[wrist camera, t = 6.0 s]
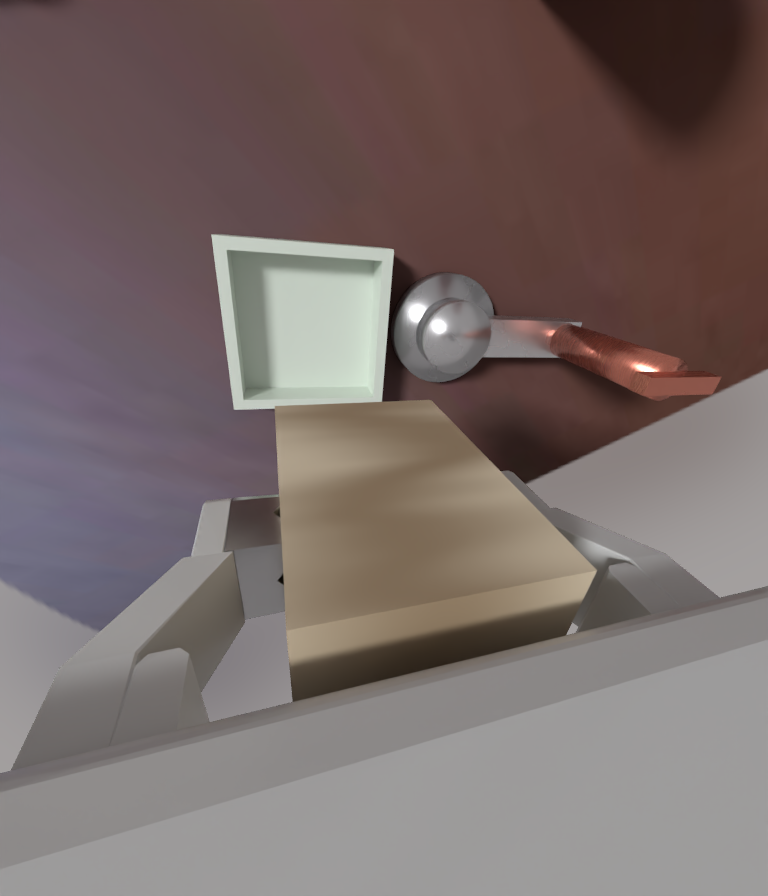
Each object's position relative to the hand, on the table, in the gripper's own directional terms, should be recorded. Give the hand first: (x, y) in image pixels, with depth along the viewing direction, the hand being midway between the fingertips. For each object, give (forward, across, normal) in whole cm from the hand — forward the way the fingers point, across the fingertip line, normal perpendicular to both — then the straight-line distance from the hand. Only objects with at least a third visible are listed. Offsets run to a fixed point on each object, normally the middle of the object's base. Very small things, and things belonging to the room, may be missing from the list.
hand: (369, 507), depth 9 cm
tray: (+18, 0, -1) cm, 18 cm away
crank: (+16, -13, 0) cm, 21 cm away
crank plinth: (+18, -9, 0) cm, 20 cm away
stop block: (+2, 0, 0) cm, 2 cm away
